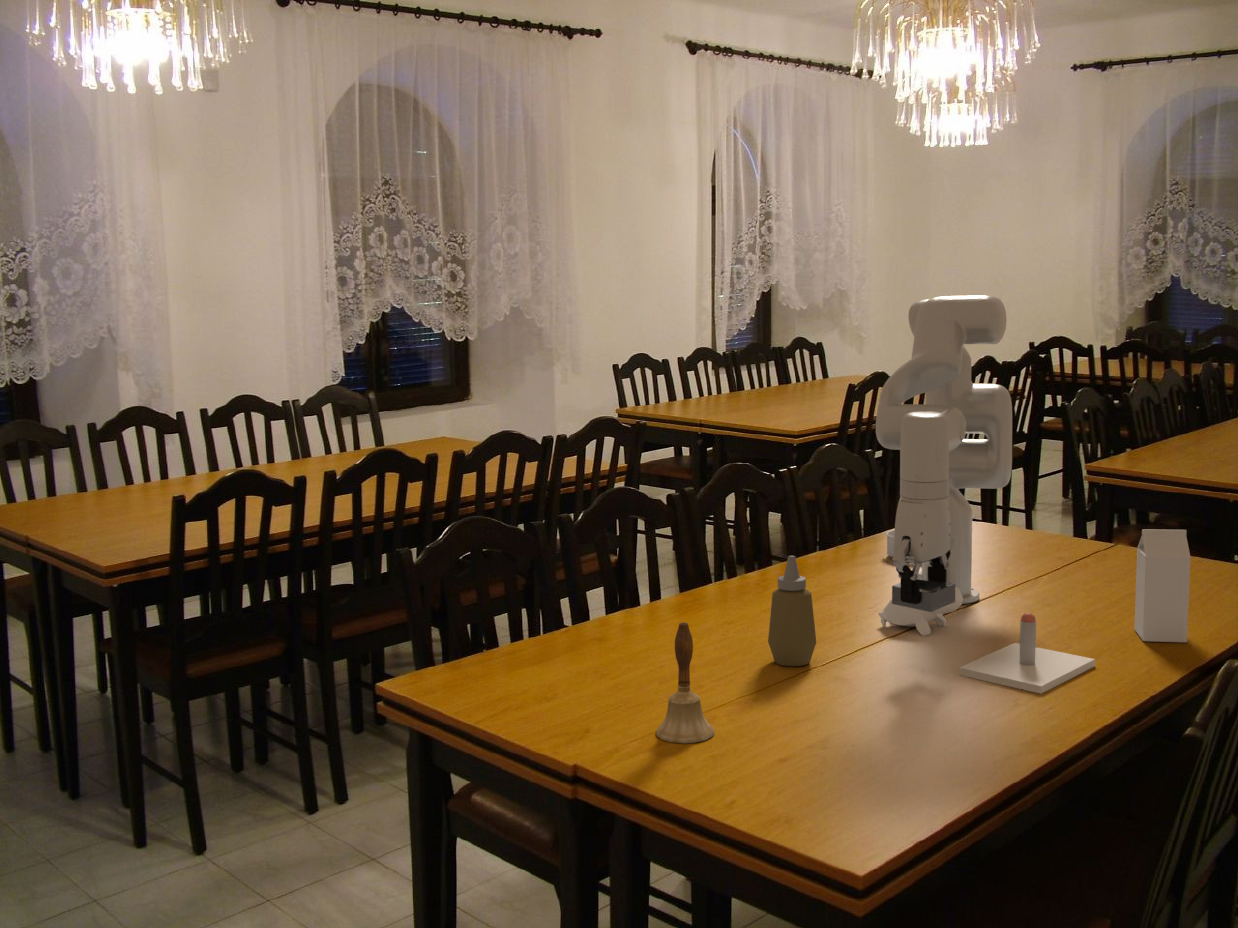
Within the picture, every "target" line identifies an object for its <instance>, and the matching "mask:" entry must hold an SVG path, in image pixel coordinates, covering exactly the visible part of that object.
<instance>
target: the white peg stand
mask: <svg viewBox="0 0 1238 928" xmlns="http://www.w3.org/2000/svg"><path fill="white" fill-rule="evenodd" d="M1035 616H1036V615H1034V614H1033V613H1030V612H1025V613H1023V614H1022V616H1021V618H1020V623H1019V624H1020V627H1019V642H1014V643H1011V644H1008V645H1007V646H1005V647H1002V648H1000V649H998V650H995V651H993V652H991V653H988V654H986V655H983V656H982V657H979V658H978V659H974V660H972V661H971V662H968V663H966V664H963V665H961V666H959V667H958V676H962V677H967V678H972V679H976V680H980V681H983V682H984V681H985V682H988V683H993V684H996V685H997V684H998V685H1001V686H1006V687H1010V688H1014V689H1018V690H1022V689H1023V691H1027V692H1032V693H1035V694H1036V693H1037V694H1040V695H1042V694H1044V693H1046V692H1047V691H1049V690H1051V689H1054V688H1055V687H1057V686H1059V685H1061V684H1063V683H1065V682H1067V681H1070V680H1071V679H1073V678H1075V677H1077V676H1079V675H1082V674H1083V673H1084V672H1086V671H1089V670H1090V669H1092V668H1094V667H1095V666H1096V659H1095V658H1092V657H1087V656H1080V655H1076V654H1071V653H1067V652H1062V651H1057V650H1052V649H1048V648H1042V647H1037V646H1036V645H1037V644H1036V642H1037V641H1036V640H1037V620H1036V617H1035Z"/></svg>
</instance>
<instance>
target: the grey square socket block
mask: <svg viewBox="0 0 1238 928" xmlns="http://www.w3.org/2000/svg"><path fill="white" fill-rule="evenodd" d="M917 579H918V580H920V602H919V604H911V603H906V602H902V601H901V599H900V595H901V582H899V583H896V584H893V585H892V586H891V598H892V604H895V605H900V606H905V607H909V608H914V609H919V610H923V611H928V612H933V611H935V610H937V609H940V608H942V607H944V606H947V605H949V604H951V603H954V602H955V584H953V583H948V582H942V581H937V580H931V579H927V578H922V577H917Z"/></svg>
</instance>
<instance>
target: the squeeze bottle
mask: <svg viewBox="0 0 1238 928" xmlns="http://www.w3.org/2000/svg"><path fill="white" fill-rule="evenodd" d="M806 581H807V579H806V577H805V576H803V575H800V573H799V566H798V563H797V558H796V556H795V555H788V556H787V559H786V566H785V570H784V574H783V575H781V576H779V577H777V588H776V589H775V590H773V591H772V596H771V604H770V607H771V608H770V615H769V617H770V618H769V627H768V639H767V643H768V646H769V648H770V652H771V655H772V658H773V660H774V662H775V663H776V664H777V665H781V666H787V667H800V666H801V667H802V666H806V665H808V664H809V663H811V660H812V657H813V654H814V651H815V647H816V644H817V635H816V633H817V632H816V626H815V614H814V607H813V597H812V592H811V591H810V590H808V589H807V587H806V586H807V582H806Z"/></svg>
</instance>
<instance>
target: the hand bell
mask: <svg viewBox="0 0 1238 928" xmlns="http://www.w3.org/2000/svg"><path fill="white" fill-rule="evenodd" d="M676 631H677V632H676V634H675V638H674V653H675V659H676V662H677V667H678V674H677V675H678V682H677V691H676V692H675V693H672V694H671V695H670V696H669V697H668V701H667V702H668V704H667V709H666V714H665V717H664V719H663V720H662V723H661V724H660V725H659V726H657V729H656V730H655V735H656V736H657V738H659V739H660V740H662V741H665V742H668V743H673V744H674V743H675V744H676V743H677V744H695V743H699V742H700V743H701V742H705V741H707V740H710V739H711V738H712V737H714V736H715V733H716V732H715V729H714V727H713V726H712V724H710V723H709V722H708V721H707V719H706V717H705V716H704V712H703V708H702V701H701V697H700V696H699V695H698V694H697V693H695V692H692V691H691V687H690V686H691V681H690V680H691V677H690V676H691V675H690V671H691V670H690V666H691V662H692V658H693V652H694V641H693V636H692V633H691V630H690V626H689V623H688V622H680V623H678V629H677V630H676Z"/></svg>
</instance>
